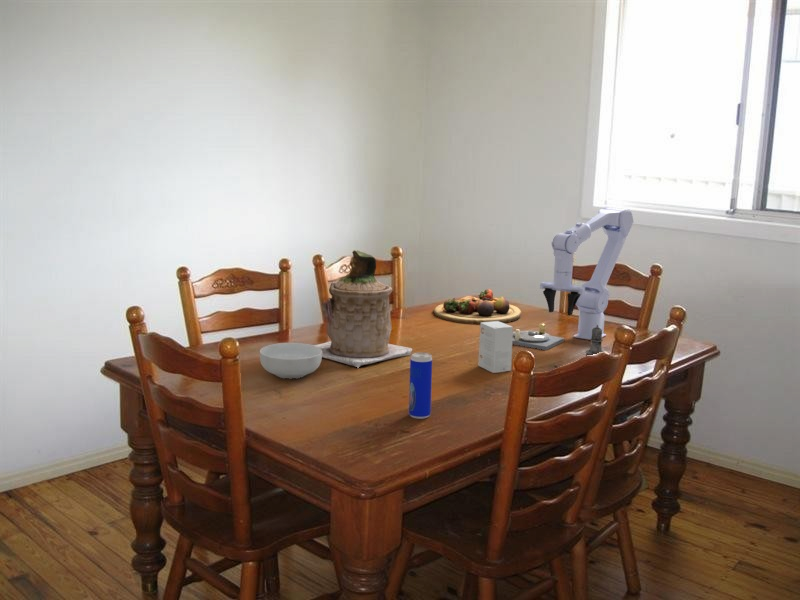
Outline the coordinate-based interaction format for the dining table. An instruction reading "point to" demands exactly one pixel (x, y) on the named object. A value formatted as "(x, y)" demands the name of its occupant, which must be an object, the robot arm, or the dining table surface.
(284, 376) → the cereal bowl
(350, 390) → the dining table surface
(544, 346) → the jig board
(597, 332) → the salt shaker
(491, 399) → the dining table surface
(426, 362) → the beverage can
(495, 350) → the small box
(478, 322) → the wooden plate with food
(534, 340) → the flange plate
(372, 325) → the cookie jar
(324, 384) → the dining table surface
